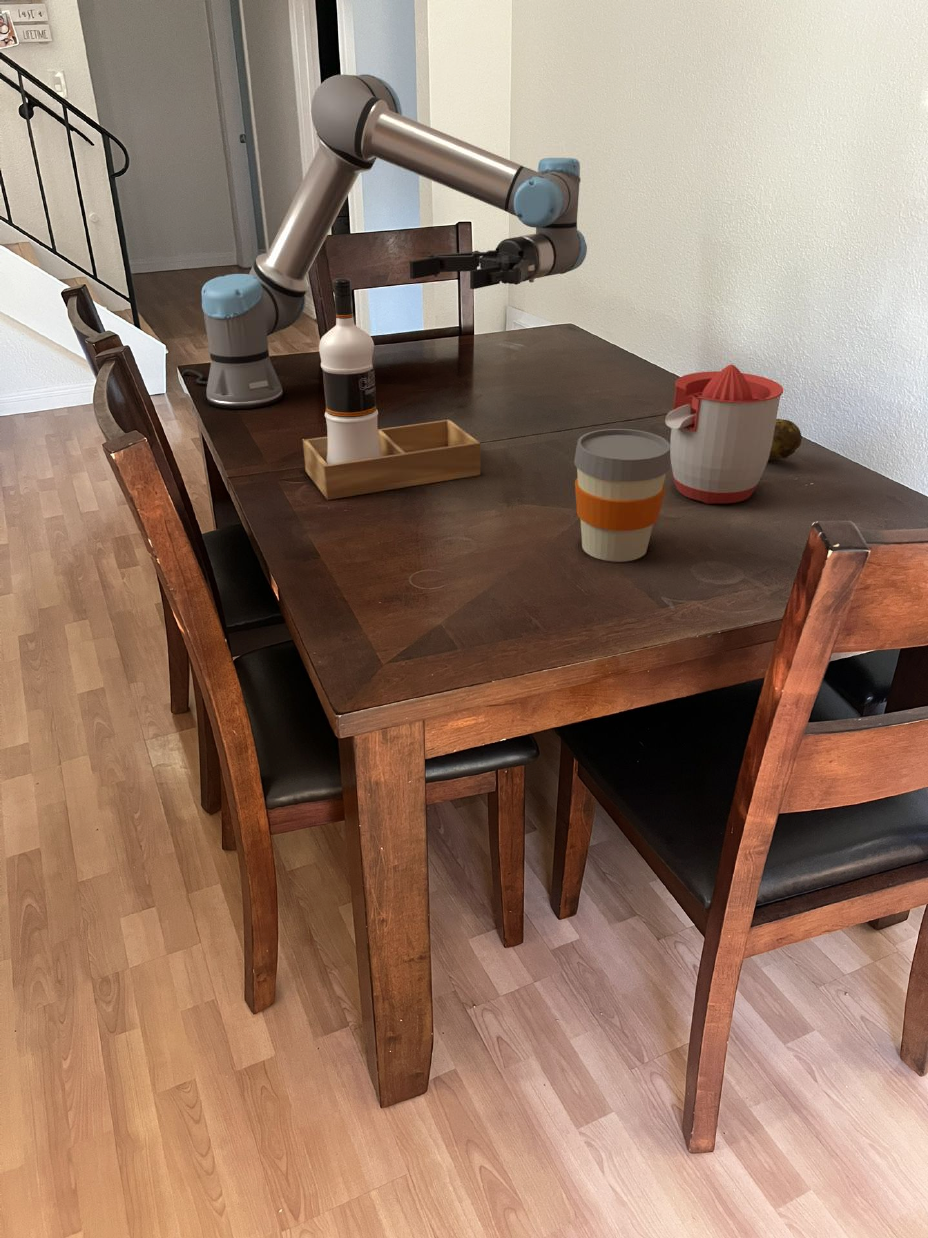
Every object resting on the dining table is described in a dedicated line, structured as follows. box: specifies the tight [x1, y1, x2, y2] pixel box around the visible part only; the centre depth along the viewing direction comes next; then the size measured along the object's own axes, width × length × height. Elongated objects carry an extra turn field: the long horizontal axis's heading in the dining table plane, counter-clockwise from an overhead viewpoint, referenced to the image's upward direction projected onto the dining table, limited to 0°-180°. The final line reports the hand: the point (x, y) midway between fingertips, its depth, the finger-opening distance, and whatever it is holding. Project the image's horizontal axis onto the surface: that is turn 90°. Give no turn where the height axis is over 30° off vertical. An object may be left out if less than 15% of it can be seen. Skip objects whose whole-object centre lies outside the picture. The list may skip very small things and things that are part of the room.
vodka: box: [318, 277, 383, 465], centre depth 139 cm, size 9×9×30 cm
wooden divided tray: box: [302, 419, 481, 501], centre depth 148 cm, size 13×26×6 cm, turn 113°
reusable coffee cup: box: [573, 428, 671, 563], centre depth 121 cm, size 13×13×15 cm
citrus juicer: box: [664, 363, 784, 505], centre depth 136 cm, size 16×17×20 cm
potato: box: [768, 418, 803, 461], centre depth 152 cm, size 8×13×8 cm, turn 12°
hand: (440, 274), depth 147 cm, fingers open, 13 cm apart
